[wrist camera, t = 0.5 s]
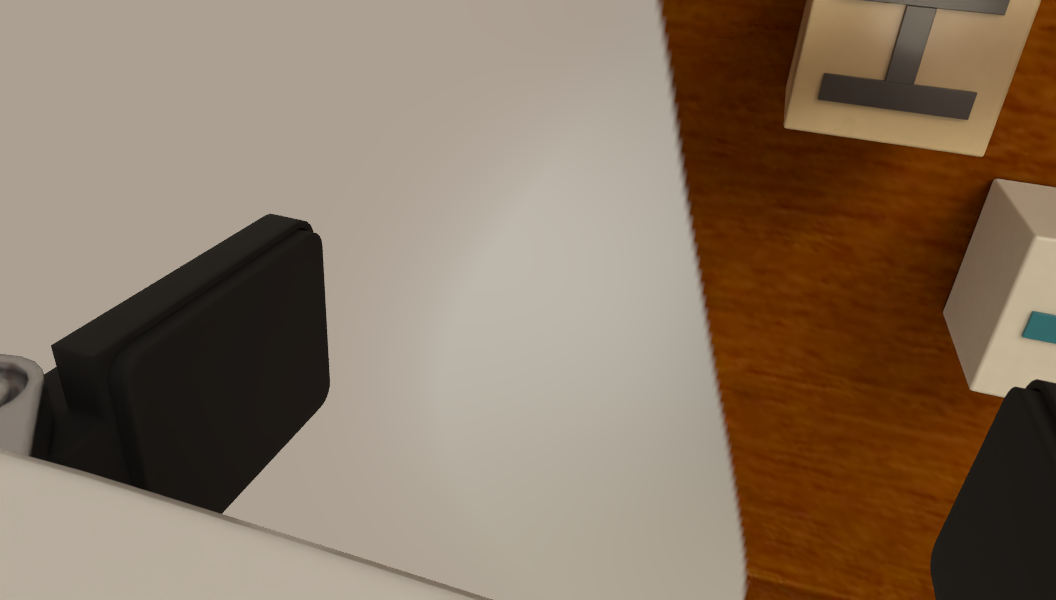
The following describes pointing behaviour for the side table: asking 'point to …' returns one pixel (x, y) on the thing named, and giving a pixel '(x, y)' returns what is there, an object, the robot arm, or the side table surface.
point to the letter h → (906, 70)
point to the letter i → (1008, 291)
